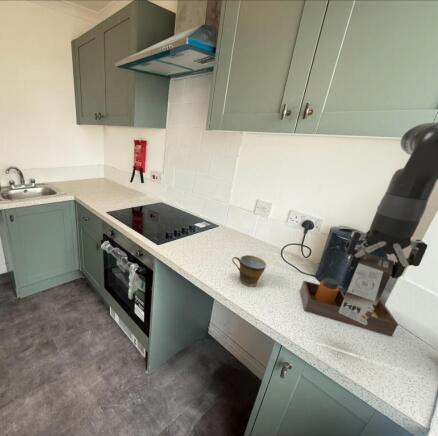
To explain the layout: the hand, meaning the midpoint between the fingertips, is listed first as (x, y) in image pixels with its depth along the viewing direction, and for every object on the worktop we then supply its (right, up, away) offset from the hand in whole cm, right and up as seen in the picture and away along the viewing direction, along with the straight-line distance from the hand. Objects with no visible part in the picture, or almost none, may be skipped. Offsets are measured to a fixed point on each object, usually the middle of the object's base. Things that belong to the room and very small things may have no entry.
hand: (372, 272), depth 63 cm
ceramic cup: (-17, -13, +40) cm, 46 cm away
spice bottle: (+6, -18, +27) cm, 33 cm away
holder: (+11, -20, +25) cm, 34 cm away
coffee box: (0, -12, +5) cm, 13 cm away
